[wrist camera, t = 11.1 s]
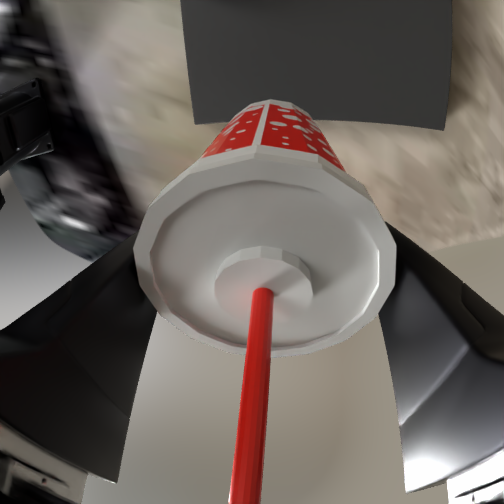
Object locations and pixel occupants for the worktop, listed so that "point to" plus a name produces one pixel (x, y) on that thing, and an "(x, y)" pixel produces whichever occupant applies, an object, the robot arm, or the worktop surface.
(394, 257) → the beverage cup
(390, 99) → the scale
